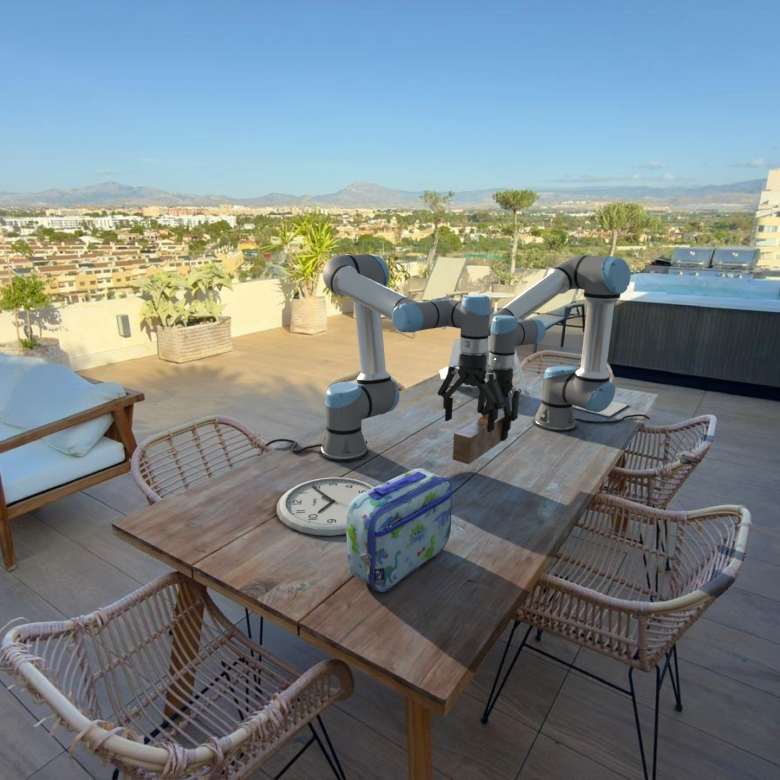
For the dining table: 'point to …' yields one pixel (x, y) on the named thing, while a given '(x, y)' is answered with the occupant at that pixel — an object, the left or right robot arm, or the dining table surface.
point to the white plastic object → (455, 361)
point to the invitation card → (608, 409)
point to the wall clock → (320, 505)
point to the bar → (477, 439)
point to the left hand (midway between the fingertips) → (468, 425)
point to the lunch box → (398, 527)
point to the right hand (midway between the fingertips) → (495, 437)
